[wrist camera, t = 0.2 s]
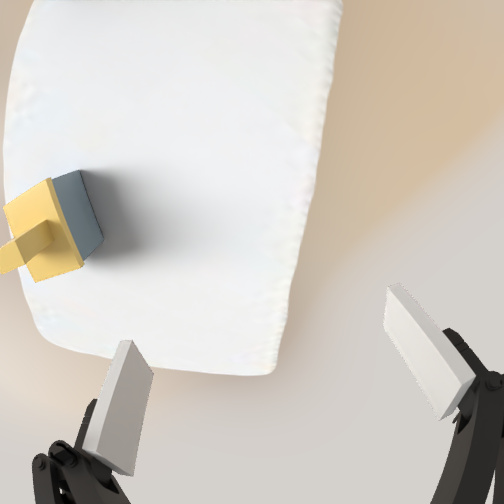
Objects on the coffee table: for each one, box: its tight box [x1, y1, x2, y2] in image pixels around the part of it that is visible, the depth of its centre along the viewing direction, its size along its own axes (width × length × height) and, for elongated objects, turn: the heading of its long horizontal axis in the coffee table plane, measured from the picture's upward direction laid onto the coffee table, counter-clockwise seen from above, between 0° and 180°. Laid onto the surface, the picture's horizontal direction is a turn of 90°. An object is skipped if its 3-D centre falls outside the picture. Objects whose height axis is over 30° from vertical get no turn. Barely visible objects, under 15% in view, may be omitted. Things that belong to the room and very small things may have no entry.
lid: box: [0, 177, 84, 283], centre depth 26 cm, size 13×11×9 cm
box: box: [52, 170, 104, 261], centre depth 33 cm, size 12×10×8 cm
